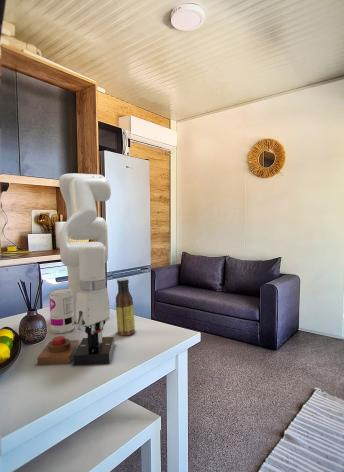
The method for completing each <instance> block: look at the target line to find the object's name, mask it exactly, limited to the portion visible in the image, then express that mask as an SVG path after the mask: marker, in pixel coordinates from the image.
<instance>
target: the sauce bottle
mask: <svg viewBox="0 0 344 472" xmlns="http://www.w3.org/2000/svg"><path fill="white" fill-rule="evenodd" d="M129 282H130V281H129V278H126V277H123V278H118V279H116V283H117V294H116V295H115V310H116V311H115V312H116V314H115V315H116V326H117V327H116V328H117V333H118V335H119V336H130V335H133V334H135V332H136V331H135V328H136V325H135V311H134V300H133V296H132V295H131V292H130V289H129Z"/></svg>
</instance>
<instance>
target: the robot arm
mask: <svg viewBox="0 0 344 472" xmlns="http://www.w3.org/2000/svg"><path fill="white" fill-rule="evenodd" d="M58 184H59V186H58V187H59V190H60V193H61V196H62V198H63V200H64V203H65V206H66V207H65V208H66V221H65V222H64V223H63V225H62V227H61V230H60V232H59V241H58V242H59V255H60V256H59V257H60V261H61V263H62V265H64V266H65V267H66V269H67V285H68V287H67V289H70V290H71V292H72V293H73V311H74V323H76V324H78V325H77V330H78V331H81V332H85V334H87V338H88V345H89V346H92V347H96V346H97V339H96V334H95V330H100V331H102V332H103V331H104V329H105V325H106V323H107V322H108V321H109V320H110V315H111V308H110V306H111V305H110V296H109V292H108V288H107V282H108V280H107V277H106V263H107V262H108V260H109V239H108V238H109V237H108V234H109V233H108V225H107V221H106V219H105V218H103V217H101V216H98V211H97V204H96V202H108V201H109V200H110V198H111V194H112V189H111V185H110V182H109V180H108V179H107V177H105V176H104V175H103V174H97V173H96V174H95V173H77V172H74V173H70V172H69V173H64V174H62V175H60V176H59V179H58ZM69 239H70V240H74V241H76V242H69ZM89 240H93V241H89ZM77 241H78V242H77Z"/></svg>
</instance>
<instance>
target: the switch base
mask: <svg viewBox="0 0 344 472" xmlns="http://www.w3.org/2000/svg"><path fill="white" fill-rule="evenodd" d="M114 348H115V336H102V346H101V347H92V346H89V345H88V337H83V338H82V339H81V341H80V342H79V346H78V348H77V350H76V352H75V354H74V356H73V366H89V365H93V366H94V365H109V364H110V363H111V359H112V356H113V351H114Z"/></svg>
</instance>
